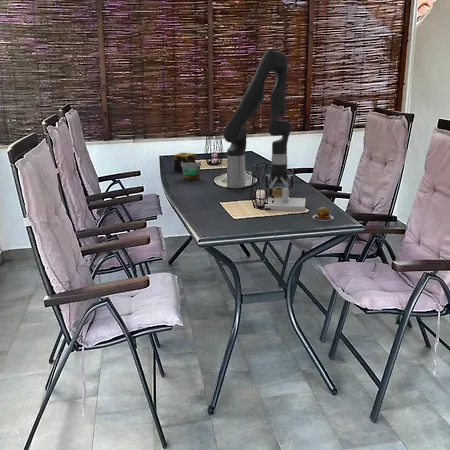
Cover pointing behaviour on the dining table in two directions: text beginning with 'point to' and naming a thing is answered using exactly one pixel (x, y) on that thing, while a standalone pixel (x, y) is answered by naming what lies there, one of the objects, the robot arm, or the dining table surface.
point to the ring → (277, 192)
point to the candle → (185, 158)
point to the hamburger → (323, 214)
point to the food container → (191, 171)
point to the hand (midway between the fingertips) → (279, 195)
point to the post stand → (286, 202)
